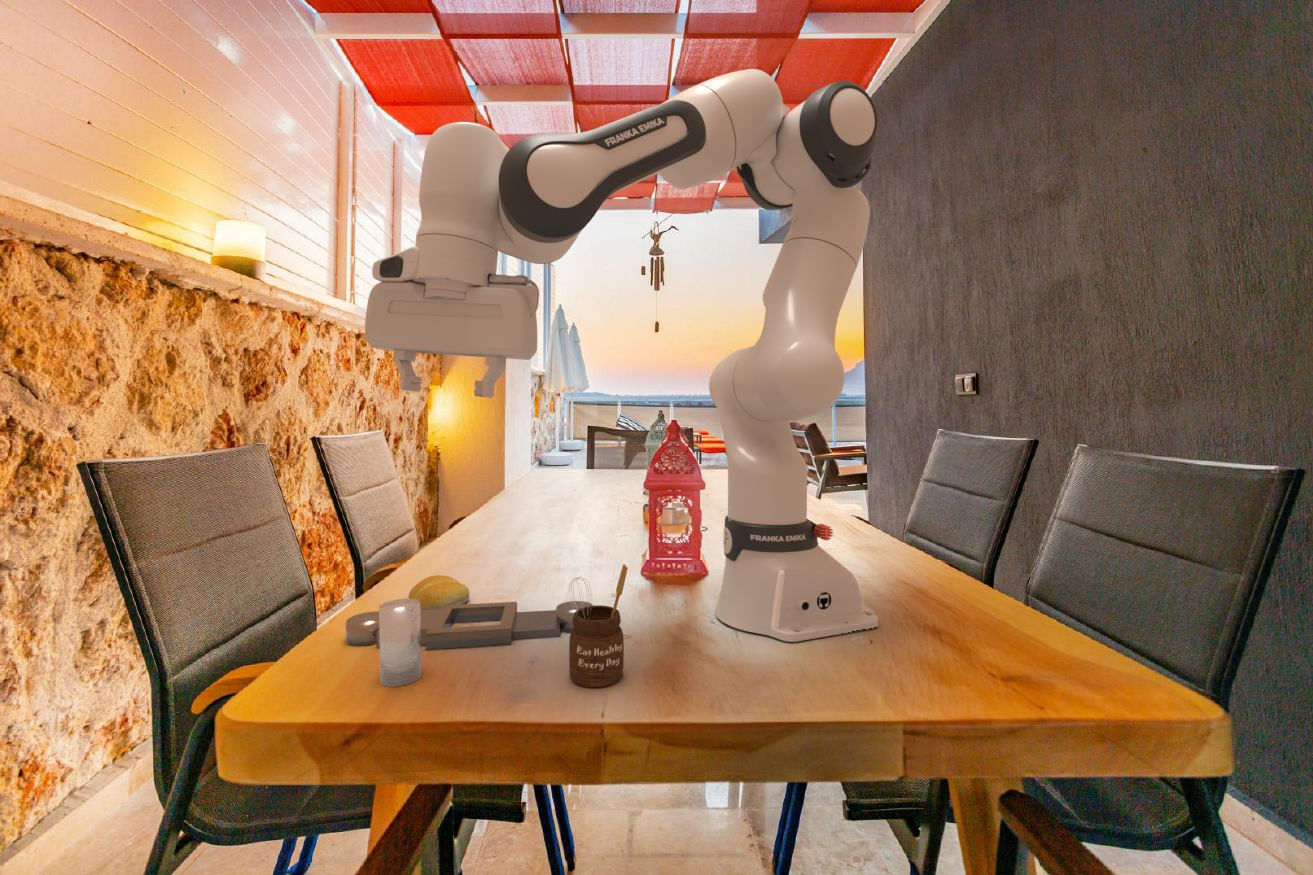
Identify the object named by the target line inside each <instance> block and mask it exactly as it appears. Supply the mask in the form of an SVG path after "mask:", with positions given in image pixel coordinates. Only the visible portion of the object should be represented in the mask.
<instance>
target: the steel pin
mask: <svg viewBox="0 0 1313 875" xmlns="http://www.w3.org/2000/svg"><path fill="white" fill-rule="evenodd" d="M378 611H379V635H380V648H379V683H380V685H381V686H383V687H385V688H386V687H387V688H397V687H398V688H399V687H403V686H406V685H410V684H412V683H414V682H416V681H418V680H419V679H420V678H421V676H422V649H421V648H422V647H421V646H422V645H421V626H420V601H419V600H416V599H409V598H398V599H392V600H389V601H386V602H384V603H382V604H380V605H379V607H378Z"/></svg>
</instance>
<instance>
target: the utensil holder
mask: <svg viewBox="0 0 1313 875" xmlns="http://www.w3.org/2000/svg"><path fill="white" fill-rule="evenodd" d="M627 574H628V566H627V565H626V564H625V563H623V564H622V567H621V571H620V575H619V578H618V581H617V586H616V589H615V591H616V592H615V594H616V595H615V600H614V603H613V607H612V606H608V605H593V604H592V599H589V603H590V606H587V607H582V608H580V609H577V611H575V613H574V616H573V626H574V628H573V629H572V631H571V632H570V633H569V634H570V635H569V646H568V647H569V648H568V649H569V650H568V651H569V652H568V655H569V656H568V657H569V658H568V662H569V663H568V664H569V665H568V666H569V668H568V669H569V676H570V679H571V680H572V682H574V683H575V684H576V685H579V686H581V687H586V688H602V687H604V688H605V687H607V686H611V685H614V683H617V682H618V681H619V680H620V679H621V677H622V676H623V672H624V663H625V662H624V660H625V659H624V656H625V653H624V650H625V649H624V648H625V647H624V644H625V643H624V633H623V630H622V627H621V626H620V625H621V622H622V619H621V614H620V611H619V610H618V609H617V607H618V605H619V604H618V603H619V600H620V597H621V596H622V595H623V591H624V586H625V582H626V578H627ZM579 579H580V580H582V581H583V582H584V585H585V590H586V591H587V592H590V591H592V589H591V588H592V587H591V586H590V581H586V578H585V577H581V576H579V577H574V578H573V579H572V581H571V582H570V584H569V586H568V592H569V595H571V596H572V597H571V596H569V600H570V601H576V599H575V598H576V597H575V596H574V595H575V591H574V587H575V583H576V585H577V586H579V585H581V583H580V580H579ZM573 581H574V582H573ZM586 582H588V584H587V583H586ZM572 583H573V587H572V588H571V585H572ZM588 585H589V586H588ZM577 589H578V591H580V592H581V593H580V592H578V596H581V597H582V599H584V597H583V595H580V594H583V592H582V590H580V589H582V587H581V586H579V587H577ZM589 589H590V591H589ZM570 591H571V592H572V594H571V592H570ZM586 594H587V595H586V596H587V597H591V596H593V593H592V592H590V593H586ZM581 597H579V601H583V604H584V602H585V601H584V600H582V599H581ZM571 604H572V602H571ZM574 604H576V602H575V603H574ZM591 604H592V605H593V606H592V605H591ZM581 605H582V603H581ZM572 606H573V605H572ZM575 606H576V605H575ZM573 608H574V607H573ZM576 608H577V606H576ZM574 610H575V609H574Z"/></svg>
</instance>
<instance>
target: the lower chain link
mask: <svg viewBox="0 0 1313 875" xmlns="http://www.w3.org/2000/svg"><path fill="white" fill-rule="evenodd" d="M583 601H584V600H574V601H573V600H570V601H565V602H562V603H560V604H558V605H557V606H556V607H555V608H556V609H553V610H535V611H532V610H531V611H518V610H517V611H516V616H515V621H514V625H513V630H512V635H511V636H509V637H493V638H477V639H461V640H445V641H429V642H426V645H425V649H426V651H430V650H442V649H443V650H444V649H445V650H446V649H458V648H459V649H461V648H473V647H474V648H475V647H489V646H505V645H512V642H513V640H524V639H541V638H555V637H556V638H557V637H558V638H559V637H561V632H563V633H571V631H572V629H573V628H574V626H573V616H574V613H575V611H577V609H580V608H582V607H587V606H590V602H589V601H584V604H583ZM571 602H572V604H571ZM575 602H576V604H574V603H575ZM581 603H582V605H581ZM572 605H573V606H572ZM575 605H576V606H577V608H576V606H575ZM591 605H592V606H594V605H593V603H591ZM573 607H574V608H573ZM574 609H575V610H574ZM502 615H503V613H494V614H476V615H458V616H452V617H451V619H450V621H449V623H448V625H447V627H446V628H452V624H455V623H456V624H458V623H459V624H460V623H475V622H492V621H501V619H502Z"/></svg>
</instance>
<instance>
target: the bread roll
mask: <svg viewBox="0 0 1313 875" xmlns="http://www.w3.org/2000/svg"><path fill="white" fill-rule="evenodd" d="M408 593H409V594H408V599H416V600H419V601H420V610H435V609H441V608H442V606H443V605H462V604H467V603H468V601H469V600H470V599H469V598H470V590H469V588H468V586H466V585H465V584H463V583H461V582H460V581H458V579H455V578H454V577H452V576H449V575H448V576H447V575H443V574H442V575H439V574H438V575H431V576H428V577H425V578H423V579H422V580H420V581H419V582H417V583H416V584H415V585H414V586H413V587H411V589H410V591H409V592H408Z"/></svg>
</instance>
